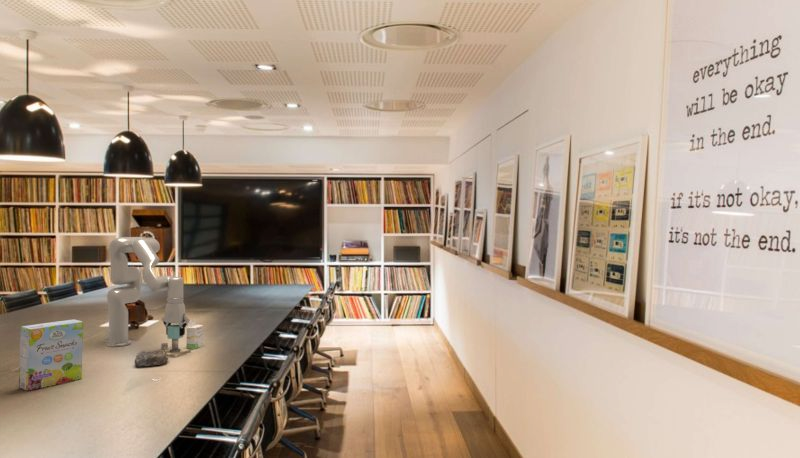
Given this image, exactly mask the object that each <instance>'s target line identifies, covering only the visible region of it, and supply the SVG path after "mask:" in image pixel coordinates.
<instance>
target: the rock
mask: <svg viewBox="0 0 800 458" xmlns="http://www.w3.org/2000/svg"><path fill="white" fill-rule="evenodd" d="M168 360H169V357H168V355H167V354H166V352H165V350H158V349H156V350H152V351H150V350H149V351H144V350H141V351H139V352H138V353H137V354H136V357H135V359H134V365H135V366H137V367H140V368H144V367H153V366H160V365H162V364H166V363H167V362H168Z"/></svg>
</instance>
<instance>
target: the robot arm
mask: <svg viewBox="0 0 800 458" xmlns="http://www.w3.org/2000/svg"><path fill="white" fill-rule="evenodd" d="M160 248H161V246H160V243H159V241H158V240H157V239H155V238H154V237H153V238H151V237H146V236H145V237H144V236H143V237H142V236H123V237H116V238H114V239H112V240H111V241H110V243H109V245H108V253H109V259H110V266H109V267H110V269H109V270H110V273H109V275H110V277H109V278H110V283H111V284H112V285H115V286H118V287H113V288H111V289H109V290H108V291H107V294H106V300H107V305H108V335H106V336H104V337H103V340H104V341H106V342H105V346H106V347H109V348H110V347H112V348H114V347H124V346H128V345H130V344H132V340H130V339H129V310H128V308H127V306H126V304H131V303H136V302H138V301H139V300H140V299H141V293H142V291H141V290H142V284H141V283H142V279H143V282H144V283H145V284H146V286H147V288H148V289H149V290H151V291H152V292H162V291H167V298H166V299H165V300H166V304H165V309H164V316H162V318H161V321H162V323H163V324H164V327H165V334H166V336H167V326H169V325H172V324H179V325H180V327H181V328H180V336H182V335H183V336H184V335H185V333H186V328H187V325H188V323H189V321H191V320H190V319H189V318H188V316H187V313H186V305H185V303H184V278H183V277H181V276H174V275H173V276H172V275H163V276H156V275H155V274H154V272H153V270H152V269H154V268H155V267H156V266H158V264H159V263H160V257H159V256H158V255H157V253H159V251H160V250H161V249H160ZM126 253H134V254H135V256H136V257H137V258H138V261H140V263H141V264H142V267H143V268H142V273H141V271H140V270H139V268H138V267H136V266H129V265H128V263H129V260H128V259H129V258H128V257H127V255H126ZM141 274H142V275H141ZM119 285H120V286H119ZM121 285H126V286H121Z"/></svg>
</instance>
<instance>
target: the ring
mask: <svg viewBox="0 0 800 458" xmlns="http://www.w3.org/2000/svg"><path fill="white" fill-rule="evenodd" d="M180 328H181V327H180V325H179V324H175V323H173V324H171V325H169V326H167V335H166V337H167V339H168V340H172V339H178V338H179V339H182V338H184V335H182V336H180Z"/></svg>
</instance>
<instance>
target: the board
mask: <svg viewBox="0 0 800 458" xmlns="http://www.w3.org/2000/svg"><path fill="white" fill-rule="evenodd" d="M179 339H180V338H178V339H171V347H169V343H168V342H164V343H161V345H160V347H161V348H158V349H157V350H165V352H166V354H167V355H168V358H179V357H181V356H184V355H186V354H188V353H191V351H192V349H186V348H179Z"/></svg>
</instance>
